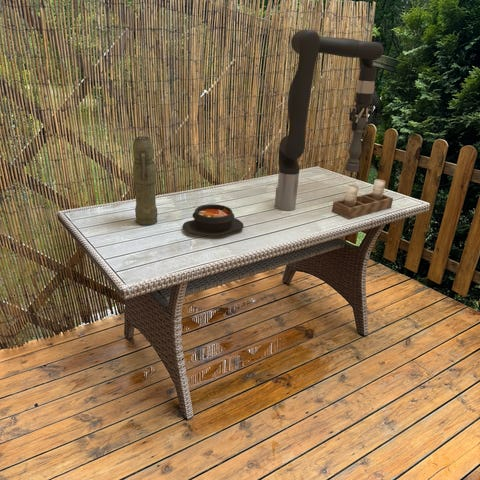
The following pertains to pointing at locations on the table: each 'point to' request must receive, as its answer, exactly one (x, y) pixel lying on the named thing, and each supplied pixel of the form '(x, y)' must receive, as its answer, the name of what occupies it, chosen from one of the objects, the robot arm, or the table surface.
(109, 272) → the table surface
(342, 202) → the wooden candle tray
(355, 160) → the candle holder
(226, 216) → the casserole
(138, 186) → the carved stone statue
